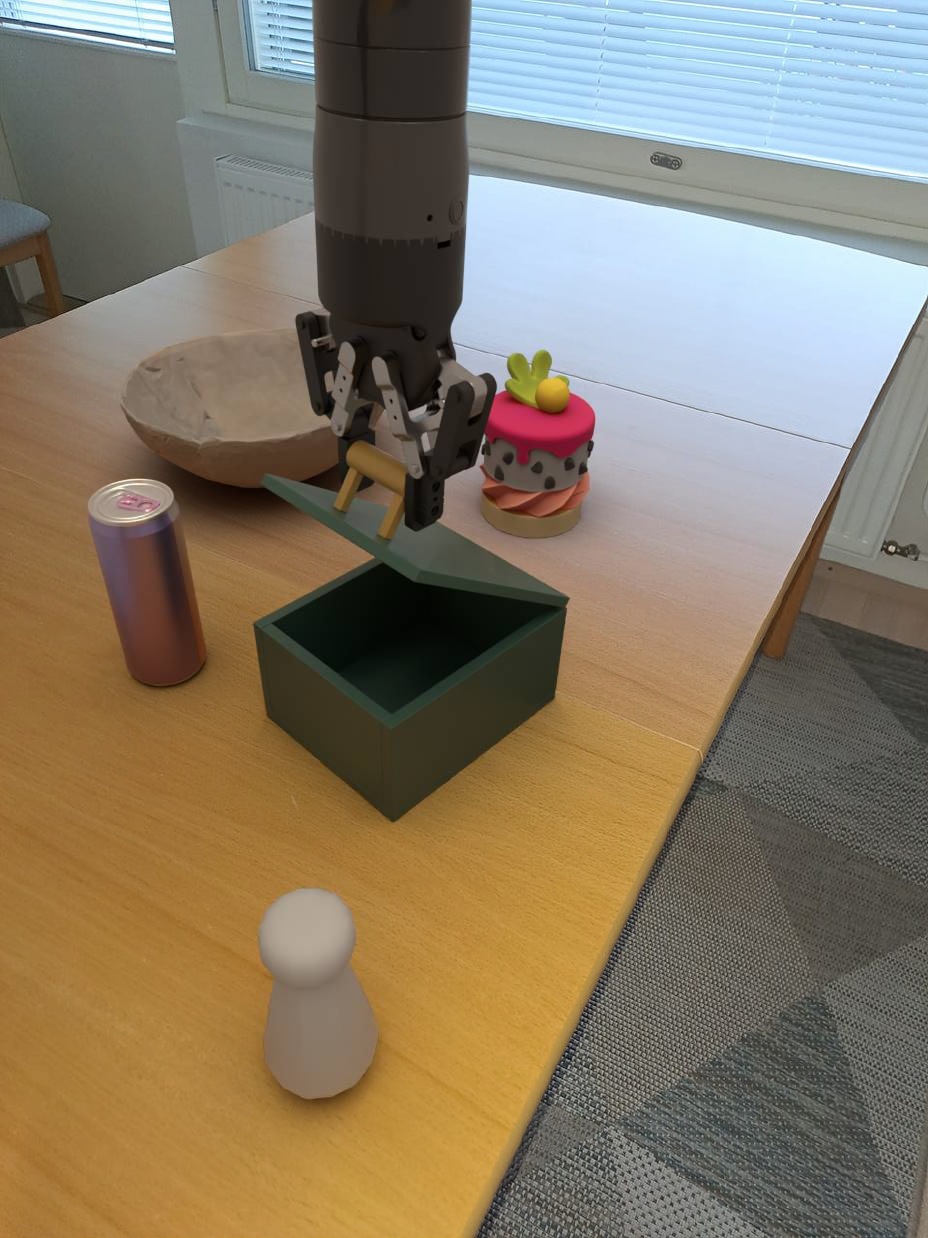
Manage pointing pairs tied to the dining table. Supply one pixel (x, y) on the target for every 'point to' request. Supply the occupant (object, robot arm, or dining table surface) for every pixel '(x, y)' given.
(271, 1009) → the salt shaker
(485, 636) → the chest
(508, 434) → the cake
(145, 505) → the beverage can
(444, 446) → the robot arm
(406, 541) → the lid
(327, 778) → the dining table surface
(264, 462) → the bowl
